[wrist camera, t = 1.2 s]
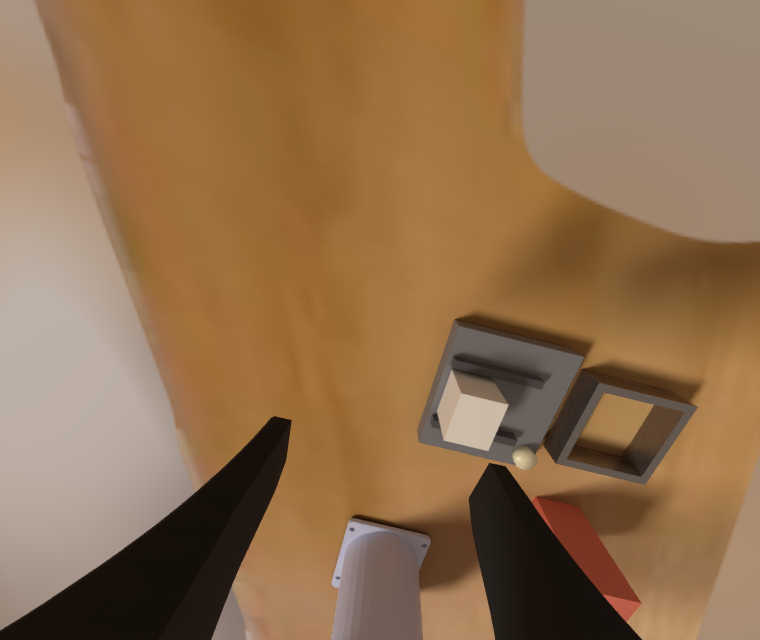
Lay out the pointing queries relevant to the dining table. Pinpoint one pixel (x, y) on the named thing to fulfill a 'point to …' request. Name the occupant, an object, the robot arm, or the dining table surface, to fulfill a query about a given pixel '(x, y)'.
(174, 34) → the dining table surface
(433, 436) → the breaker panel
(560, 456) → the frame
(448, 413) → the switch
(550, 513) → the peg
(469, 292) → the dining table surface
